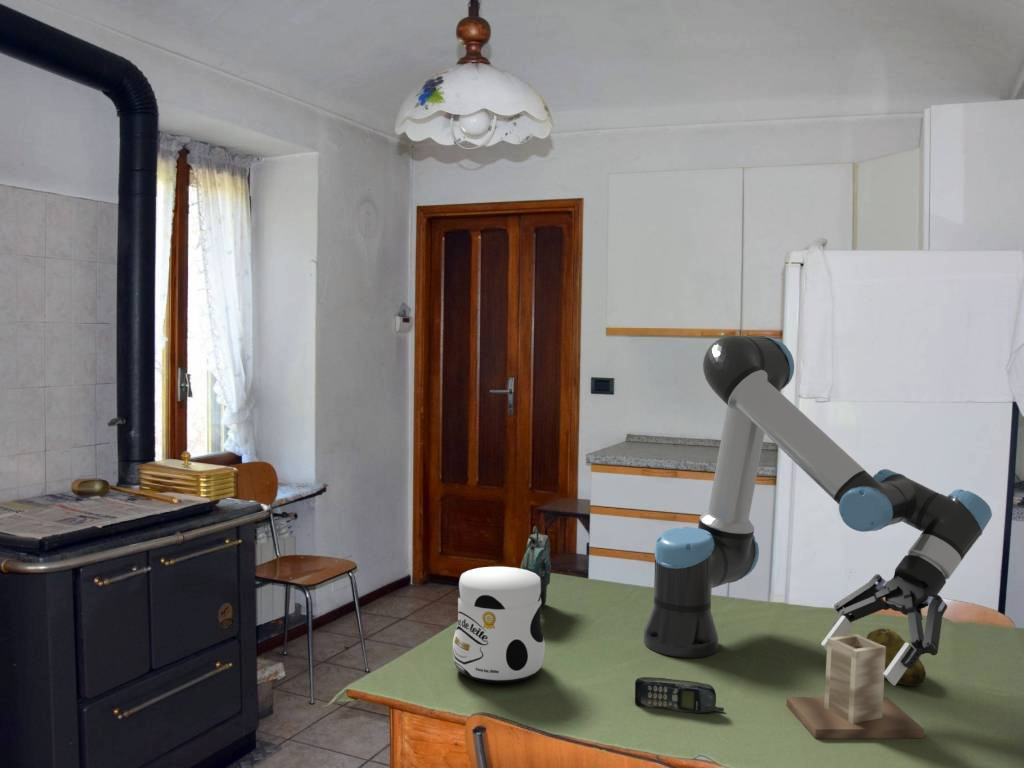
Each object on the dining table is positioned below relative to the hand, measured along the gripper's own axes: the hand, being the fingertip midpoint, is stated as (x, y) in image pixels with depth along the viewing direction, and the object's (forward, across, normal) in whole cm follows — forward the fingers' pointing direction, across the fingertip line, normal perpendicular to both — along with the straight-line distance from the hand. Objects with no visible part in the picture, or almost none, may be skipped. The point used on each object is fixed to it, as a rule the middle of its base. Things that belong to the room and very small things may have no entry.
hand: (856, 664), depth 142 cm
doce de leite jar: (+41, +40, +27) cm, 63 cm away
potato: (-8, +12, -23) cm, 28 cm away
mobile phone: (+25, +15, +10) cm, 31 cm away
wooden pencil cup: (+6, 0, -6) cm, 9 cm away
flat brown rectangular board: (+7, 0, -7) cm, 10 cm away
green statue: (+27, +66, +13) cm, 73 cm away
